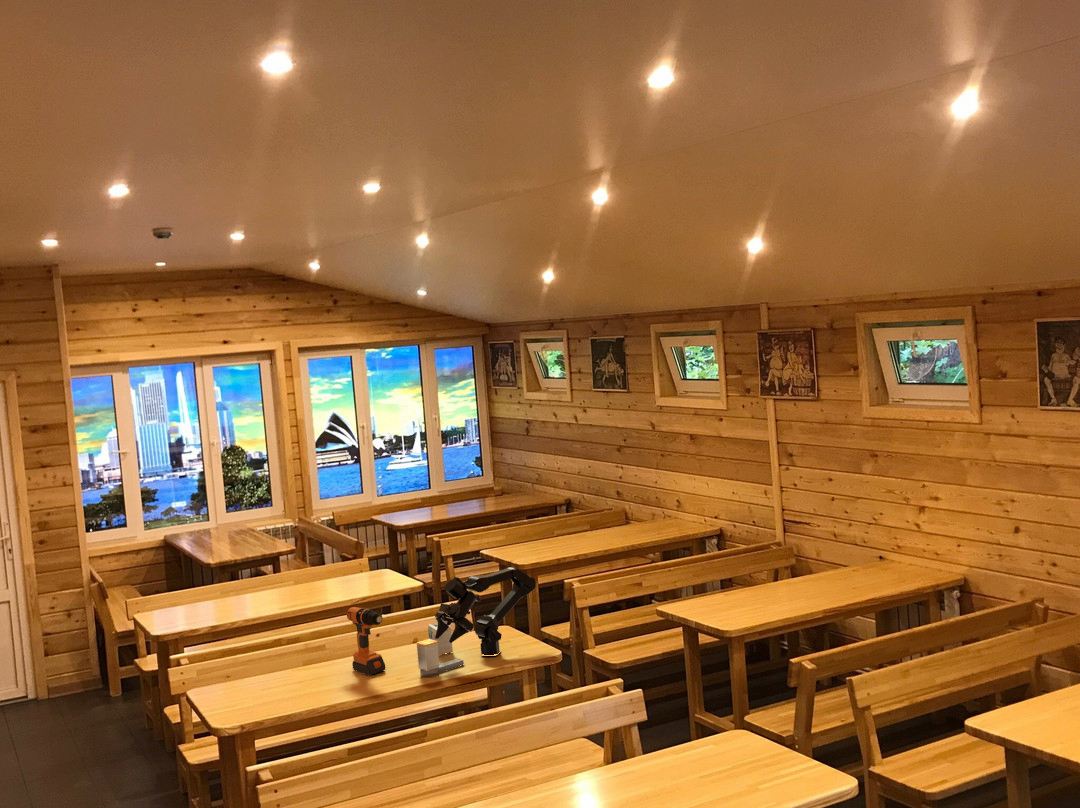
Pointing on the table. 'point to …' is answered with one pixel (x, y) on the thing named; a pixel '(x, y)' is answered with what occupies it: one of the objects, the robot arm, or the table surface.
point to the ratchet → (442, 668)
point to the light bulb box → (441, 639)
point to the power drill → (365, 641)
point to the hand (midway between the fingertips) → (442, 640)
